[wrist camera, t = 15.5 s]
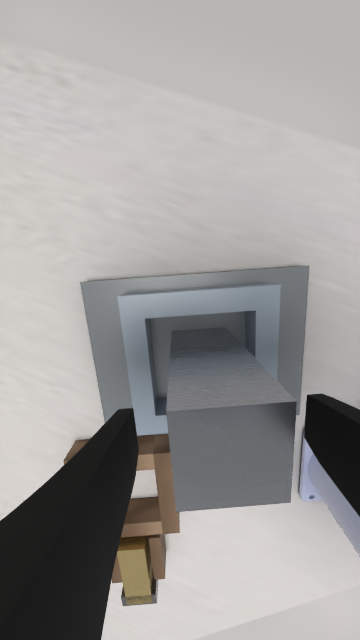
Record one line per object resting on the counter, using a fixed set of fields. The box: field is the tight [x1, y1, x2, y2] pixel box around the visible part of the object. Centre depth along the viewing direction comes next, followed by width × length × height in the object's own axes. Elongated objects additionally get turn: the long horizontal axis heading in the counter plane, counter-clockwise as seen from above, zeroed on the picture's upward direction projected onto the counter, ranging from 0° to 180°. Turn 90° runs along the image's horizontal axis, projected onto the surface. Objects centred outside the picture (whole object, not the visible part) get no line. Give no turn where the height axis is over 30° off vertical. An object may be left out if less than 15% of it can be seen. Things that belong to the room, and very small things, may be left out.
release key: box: [117, 535, 158, 606], centre depth 19 cm, size 3×7×2 cm, turn 4°
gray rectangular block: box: [166, 327, 297, 512], centre depth 11 cm, size 4×4×9 cm
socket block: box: [64, 434, 180, 583], centre depth 19 cm, size 9×14×2 cm, turn 4°
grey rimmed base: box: [80, 266, 309, 436], centre depth 15 cm, size 16×12×3 cm
